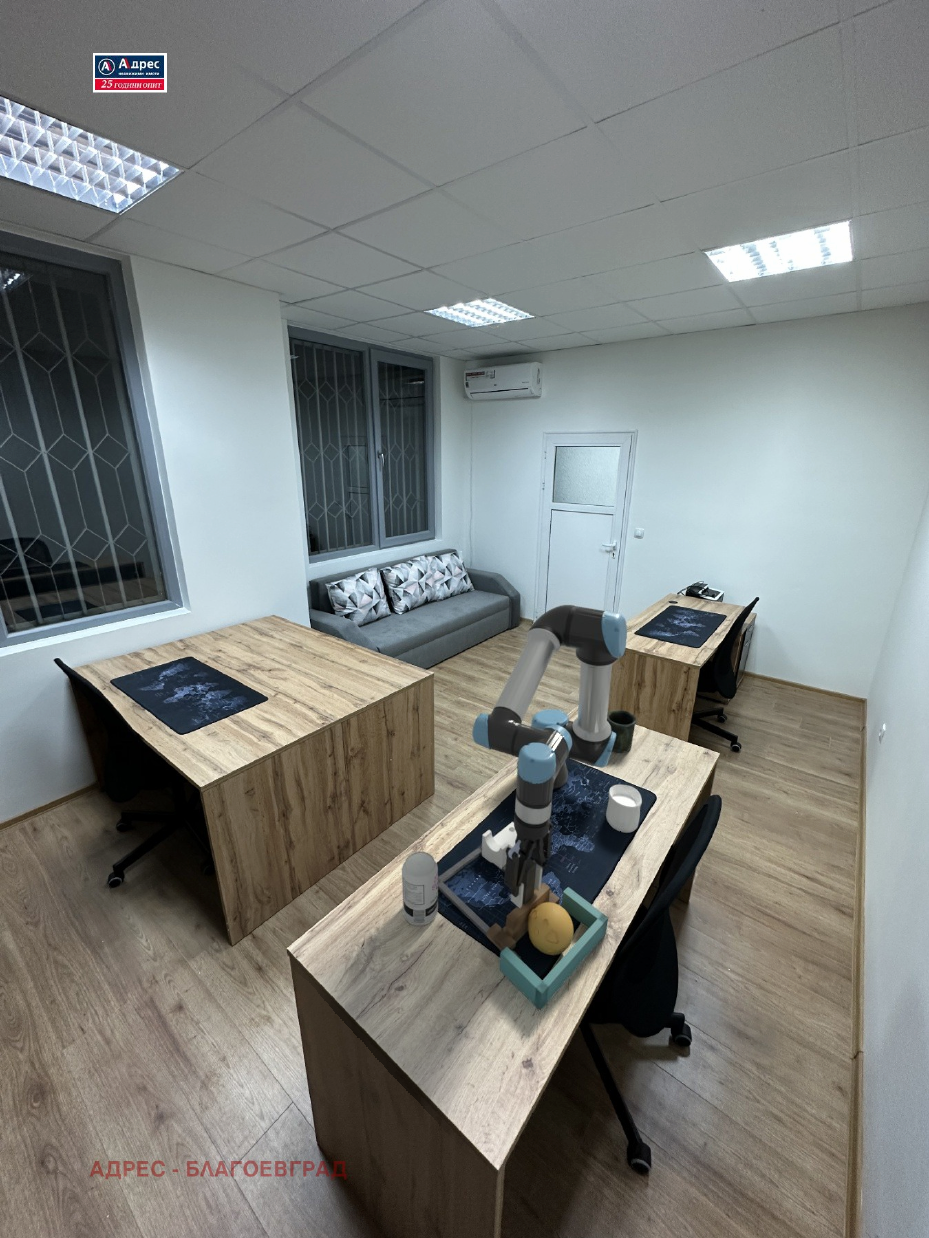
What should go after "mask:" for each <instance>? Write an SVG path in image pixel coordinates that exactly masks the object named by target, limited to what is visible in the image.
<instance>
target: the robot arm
mask: <svg viewBox="0 0 929 1238" xmlns="http://www.w3.org/2000/svg"><path fill="white" fill-rule="evenodd" d="M627 635H628V626H627V621H626V618H625V617H624V616H623V615H622V614H621V613H618V612H613V611H610V610H601V609H596V608H589V607H584V606H577V605H573V604H563V605H559V606H556V607H553V608H551V609H549V610H547V611H545V612H544V613H543V614H541V615H540V616H538V618H537V619H536V620H535V621H534V622H533V623H532V625H531V626H530V628H529V629H528V632H527V634H526V638H525V640H526V644H525V645H524V648H523V649H522V652H521V654H520V655H519V657H518V660H517V661H516V664H515V665H514V667H513V669H512V671H511V673H510V675H509V677H508V679H507V682H506V684H505V685H504V687H503V690H502V691H501V693H500V695H499V697H498V699H497V701H496V703H495V705H494V707H493V710H492V711H491V713H486V712H483V713H480V714H479V715H478V716H477V717H476V719H475V720H474V723H473V725H472V726H473V728H472V732H471V733H472V739H473V742H474V743H475V744H476V745H479V746H481V747H483V748H485V749H488V750H493V751H495V752H499V753H502V754H507V755H510V756H513V757H515V758H517V761H516V762H517V763H516V768H517V772H516V790H515V804H514V808H515V809H514V815H513V816H514V817H513V823H514V828H515V830H516V833H517V837H516V840H515V845H514V846H513V847H512V849H511V848H510V847H507V849H506V855H507V859H506V868H505V873H504V877H503V878H504V879H503V883H504V884H505V885H506V886H507V887H508V888H510V892H509V893H510V901H511V902H512V903H513V904H514V905H515V906H516V907H517V906H518V907H519V908H521V907H522V901H523V888H524V884H523V883H522V879H523V876H524V872H525V869H526V865H527V861H528V859H531V858H532V857H533V860H532V861H533V862H535V863H536V874H535V886H534V888H535V889H536V890H538V891H539V890H540V889H541V884H542V877H543V870H544V869H547V868H548V867H549V863H548V862H547V861H548V860H549V859H550V858H551V854H552V853H551V851H552V834H553V830H554V824H553V823H552V822H551V815H552V802H553V790H555V789H560V788H561V787H563V786H565V784H566V783H567V781H568V776H569V775H568V774H569V771H568V767H567V764H566V760H567V759H570V760H573V761H576V762H579V763H582V764H584V765H589V766H591V767H596V768H600V769H603V768H605V767H607V766H608V763H609V761H610V758H611V755H612V752H613V751H612V748H613V745H614V742H615V739H616V733H614V732H613V731H611V726H610V724H609V723H608V721H607V713H608V712H609V711H608V710H609V701H610V690H611V680H612V668H613V665H614V664H615V663H616V662H618V659H619V658H622V657H623V656H624V654H625V651H626V648H627V637H628V636H627ZM561 647H567V648H571V649H575V656H576V658H577V660H578V661H579V662H580V668H579V669H580V671H579V688H578V692H579V693H578V708H577V709H578V710H577V717H576V718H575V719H574V720H573V721H572V720H570V719H569V718H570V717H569V715H568V714H567V713H566V712H564V711H563V710H560V709H555V708H549V709H543V710H540V711H538V712H536V713H535V714H534V715H533V717H532V719H531V724H530V725H527V724H525V723H522V722H523V720H524V718H525V716H526V714H527V711H528V709H529V707H530V705H531V703H532V700H533V698H534V696H535V694H536V692H537V690H538V687H539V685H540V684H541V681H542V679H543V676H544V675H545V672H546V670H547V668H548V665H549V663H550V661H551V659H552V657H553V655H554V654H556V653H558V652H559V650H560V648H561ZM546 860H547V861H546ZM543 868H544V869H543Z"/></svg>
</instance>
